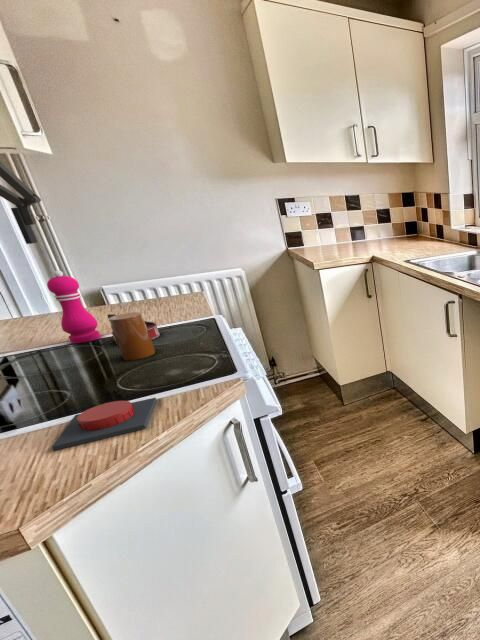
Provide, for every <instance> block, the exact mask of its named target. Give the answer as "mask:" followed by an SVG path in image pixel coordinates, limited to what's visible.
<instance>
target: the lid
mask: <svg viewBox="0 0 480 640" xmlns="http://www.w3.org/2000/svg"><path fill="white" fill-rule="evenodd" d="M131 403H132V402H131V401H130V400H129V401H128V400H115V401H109V402H104V403H102V404H98V405H96V406H92V407H90V408H88V409H86V410H83V412H81V413H79V414H80V415H79V416H78V417H77V420H78V424H79V426H80V427H81V429H83V430H86V431H92V430H100V429H104V428H108V427H111V426H114V425H117V424H120V423H122V422H124V421H126V420H128V419H129V418H131V417H132V416H133V415H134V413H135V412H134V411H135V410H134V408H133V405H132V404H131Z"/></svg>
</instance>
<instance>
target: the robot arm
mask: <svg viewBox="0 0 480 640" xmlns="http://www.w3.org/2000/svg"><path fill="white" fill-rule="evenodd" d="M0 178H1V179H3V180H4V181H5V182H6V183H7V184H8V186H10V187H11V188H12V189H14V191H16V192H17V193H18V194H19V195H18V194H16V193H15V192H13V191H12V190H10V189H9V188H7V187H6V186H4V185H2V184H0V197H1V198H2V199H4V200H6V201H8V202H9V203H10V204H12V205H13V206H15V207H10V210H11V212H12V214H13V217H14V219H15V221H16V224H17V226H18V229H19V230H20V232H21V235H22V237H23V239H24V241H25V244H26V245H30V244H36V243H38V239H37V238H36V237H37V236H36V235H35V233H34V230H33V228H32V226H33V225H36V224H37V220H36V218H35V216H34V214H33V211H32V208H31V206H32V205H36V204H38V203H41V201H42V199H41V197H40V196H39V195H38V194H36V193H35V192H34V191H33V190H32V189H31V188H30V187H29V186H27V185H26V184H25V183H24V182H23V181H22V179H20V178H19V177H18V176H17V175H16V174H14V173H13V172H12V171H11V170H10V169H9V168H8V167H7V166H6V165H5V164H4V163H3V162H2V161H1V160H0Z"/></svg>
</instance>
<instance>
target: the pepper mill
mask: <svg viewBox="0 0 480 640" xmlns="http://www.w3.org/2000/svg"><path fill="white" fill-rule="evenodd" d="M46 287H47V289H48V291H49V292H51V293H53V294H54V298H55V301H56V302H59V304H60V306H61V310H62V317H61V320H60V323H61V329H62V331H63V332H65V333H66V334H68V335H69V336H68V339H69V341H70V343H72V344H83V343H90V342H92V341H93V342H94V341H96V340H98V339H100V338H101V337H102V336H101V333H100V331H99V330H98V329H97V327H98V325H99V323H98V320H97V319H96V318H95V316H94V315H92V314H91V313H90V312H89V311H88V310H87V309H85V307H84V306H83V304H82V301H81V297H82V295H81V292H80V291H78V290H79V289H80V284H79V282H78V280H76V279H75V278H74V277H72V276H68V275H64V272H63V271H62V270H55V271H53V277H51V278H50V279H48V281H47V283H46ZM96 329H97V330H96Z"/></svg>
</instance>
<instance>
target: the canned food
mask: <svg viewBox="0 0 480 640" xmlns="http://www.w3.org/2000/svg"><path fill="white" fill-rule="evenodd" d="M116 315H117V314H112V313H109V314H106V316H107V318H108V319H109V318H111V317H113V316H116ZM144 321H145V324H146V327H147V330H148V332H149V335H150V338H151V340H154V339H156V338H158V337H159V336H160V335H161V333H160V330H159V328H158V325H157V323H156V322H153V321H147V320H144ZM111 335H112V337H113V340H114V342H115V344H116V345H118V344H117V341H116V338H115V336H114V333H113V331H112V332H111Z"/></svg>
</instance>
